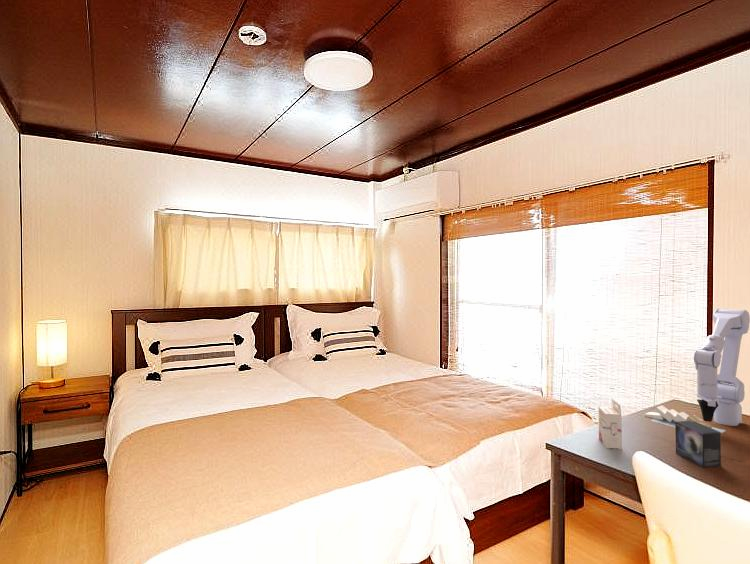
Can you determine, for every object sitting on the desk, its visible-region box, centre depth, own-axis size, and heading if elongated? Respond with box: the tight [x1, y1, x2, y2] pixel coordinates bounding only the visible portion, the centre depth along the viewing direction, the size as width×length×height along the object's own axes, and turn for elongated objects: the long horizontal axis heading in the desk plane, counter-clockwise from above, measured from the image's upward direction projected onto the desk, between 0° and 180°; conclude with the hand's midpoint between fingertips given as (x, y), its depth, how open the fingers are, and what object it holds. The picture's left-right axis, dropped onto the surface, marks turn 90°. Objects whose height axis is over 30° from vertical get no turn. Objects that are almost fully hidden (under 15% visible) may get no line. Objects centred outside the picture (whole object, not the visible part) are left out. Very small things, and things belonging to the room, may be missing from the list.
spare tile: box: [686, 414, 713, 428], centre depth 153 cm, size 4×2×6 cm
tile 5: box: [644, 411, 665, 420], centre depth 166 cm, size 4×2×6 cm
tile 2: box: [675, 411, 690, 421], centre depth 157 cm, size 4×2×6 cm
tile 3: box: [665, 408, 681, 422], centre depth 160 cm, size 4×2×6 cm
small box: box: [674, 421, 722, 468], centre depth 130 cm, size 11×6×10 cm, turn 5°
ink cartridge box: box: [598, 398, 623, 450], centre depth 143 cm, size 9×5×15 cm, turn 168°
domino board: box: [649, 418, 727, 434], centre depth 157 cm, size 12×20×1 cm, turn 30°
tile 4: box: [654, 404, 674, 422], centre depth 163 cm, size 4×2×6 cm
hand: (707, 420), depth 151 cm, fingers closed
